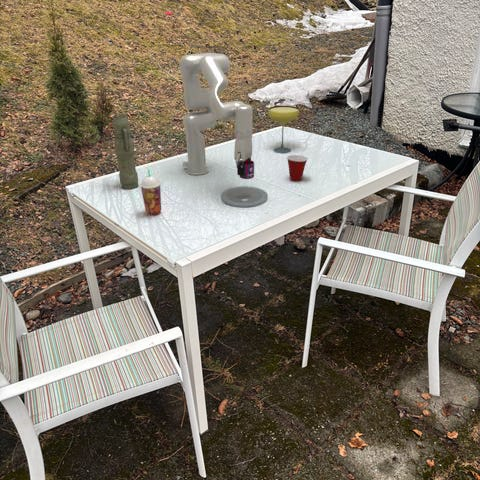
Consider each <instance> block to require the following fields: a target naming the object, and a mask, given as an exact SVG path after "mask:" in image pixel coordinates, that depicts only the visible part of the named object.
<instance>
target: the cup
mask: <svg viewBox="0 0 480 480" xmlns="http://www.w3.org/2000/svg"><path fill="white" fill-rule="evenodd" d="M240 163H241V164H242V162H240ZM235 165H236V164H235ZM236 167H237V165H236ZM243 167H244V176H241V175H239V178H240V179H243V180H250V179H253V178H254V177H255V161H253V160H252V159H251V160H245V161H244V166H243Z"/></svg>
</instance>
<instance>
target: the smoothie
mask: <svg viewBox="0 0 480 480" xmlns="http://www.w3.org/2000/svg"><path fill="white" fill-rule="evenodd" d="M147 172H148V174H147V176H145V177H143V179H142V180H141V183H140V189H141V194H142V199H143V205H144V209H145V212H146V214H147V215H149V216H158V215H159V214H161V211H162V197H161V196H162V195H161V182H160V180H158V178H157V177H155V175H151V170H150V169H147Z"/></svg>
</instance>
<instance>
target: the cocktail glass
mask: <svg viewBox="0 0 480 480" xmlns="http://www.w3.org/2000/svg"><path fill="white" fill-rule="evenodd" d="M299 114H300V109H299V108H298V107H296V106H292V105H276V106H275V105H274V106H271V107H269V108H268V110H267V115H268V117H269V118H270V119H272V120H273V121H275V122H276V123H278V124H280V127H281V128H282V129H281V130H282V131H281V133H282V134H281V145H280V147H275V148H274V149H273V150H272V151H273V152H274V153H276V154H277V153H278V154H287V153H290V152H292V149H291V148H289V147H285V146H284V127H285V126H286V125H287V124H288V123H290V122H292V121H294V120H296V119H297V118H298V117H299Z"/></svg>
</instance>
